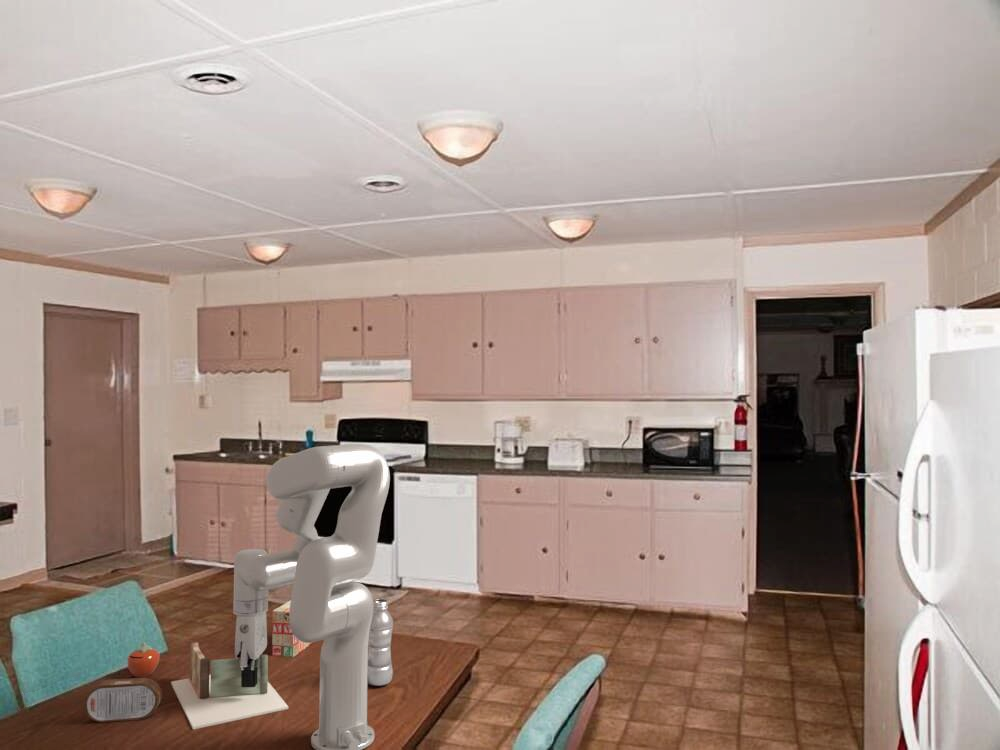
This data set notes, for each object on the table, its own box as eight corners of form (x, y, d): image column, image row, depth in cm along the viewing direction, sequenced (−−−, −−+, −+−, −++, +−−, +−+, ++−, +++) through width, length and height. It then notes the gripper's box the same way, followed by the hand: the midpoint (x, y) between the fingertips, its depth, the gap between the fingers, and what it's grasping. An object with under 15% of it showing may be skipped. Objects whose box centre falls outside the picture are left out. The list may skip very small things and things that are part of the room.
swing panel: (210, 697, 171) (210, 660, 171) (211, 694, 172) (212, 657, 173) (267, 693, 173) (267, 656, 173) (267, 690, 175) (268, 654, 175)
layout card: (288, 708, 166) (288, 706, 166) (192, 729, 156) (192, 726, 156) (255, 668, 191) (255, 665, 191) (171, 683, 180) (171, 681, 180)
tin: (161, 713, 164) (162, 674, 164) (158, 719, 161) (159, 680, 161) (86, 719, 160) (87, 680, 161) (81, 726, 157) (82, 685, 158)
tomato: (119, 678, 183) (120, 645, 184) (141, 667, 191) (141, 636, 191) (145, 681, 182) (146, 648, 182) (166, 670, 189) (166, 638, 189)
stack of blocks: (306, 631, 221) (307, 589, 222) (326, 633, 220) (327, 591, 220) (271, 656, 200) (272, 610, 201) (293, 657, 199) (293, 611, 199)
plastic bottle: (359, 686, 180) (360, 602, 180) (377, 676, 186) (377, 596, 186) (381, 691, 177) (382, 606, 177) (398, 681, 183) (399, 599, 183)
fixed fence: (209, 697, 171) (210, 660, 171) (200, 699, 170) (201, 661, 170) (197, 676, 183) (198, 641, 184) (188, 678, 182) (189, 643, 183)
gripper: (258, 614, 163) (256, 699, 163) (275, 596, 178) (274, 673, 178) (223, 614, 163) (221, 699, 162) (243, 596, 178) (242, 673, 177)
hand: (249, 685), depth 170 cm, fingers closed
